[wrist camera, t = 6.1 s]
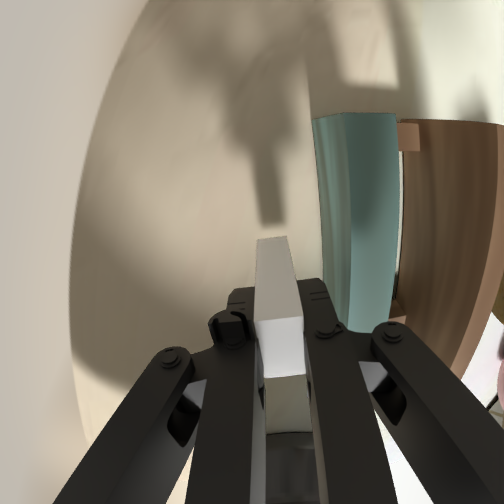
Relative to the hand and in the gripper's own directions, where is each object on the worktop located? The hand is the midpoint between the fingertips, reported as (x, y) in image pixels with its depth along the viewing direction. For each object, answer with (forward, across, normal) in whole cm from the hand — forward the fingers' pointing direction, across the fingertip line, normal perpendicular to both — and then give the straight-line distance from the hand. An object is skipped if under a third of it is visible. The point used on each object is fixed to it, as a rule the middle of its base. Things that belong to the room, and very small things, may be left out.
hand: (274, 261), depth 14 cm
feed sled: (+2, +6, 0) cm, 7 cm away
